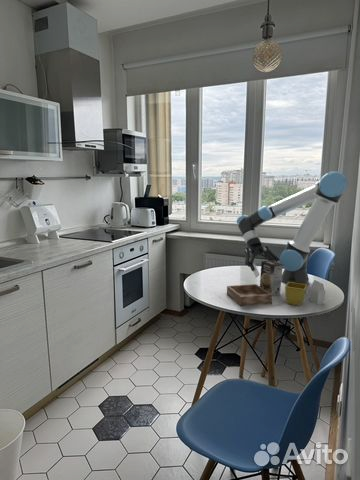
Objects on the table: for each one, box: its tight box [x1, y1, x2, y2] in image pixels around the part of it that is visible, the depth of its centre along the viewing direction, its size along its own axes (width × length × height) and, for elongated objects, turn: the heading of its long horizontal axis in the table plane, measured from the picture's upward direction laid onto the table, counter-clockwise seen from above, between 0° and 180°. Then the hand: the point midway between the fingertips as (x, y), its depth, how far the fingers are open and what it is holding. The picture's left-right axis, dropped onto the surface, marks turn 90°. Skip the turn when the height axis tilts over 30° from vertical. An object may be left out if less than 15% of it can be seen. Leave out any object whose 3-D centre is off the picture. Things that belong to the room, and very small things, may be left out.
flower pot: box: [284, 282, 308, 307], centre depth 154 cm, size 9×9×9 cm
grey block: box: [308, 279, 326, 305], centre depth 157 cm, size 4×7×10 cm, turn 10°
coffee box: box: [259, 259, 284, 297], centre depth 167 cm, size 9×6×16 cm
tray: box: [226, 283, 273, 307], centre depth 159 cm, size 16×16×4 cm
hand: (268, 274), depth 168 cm, fingers open, 13 cm apart
